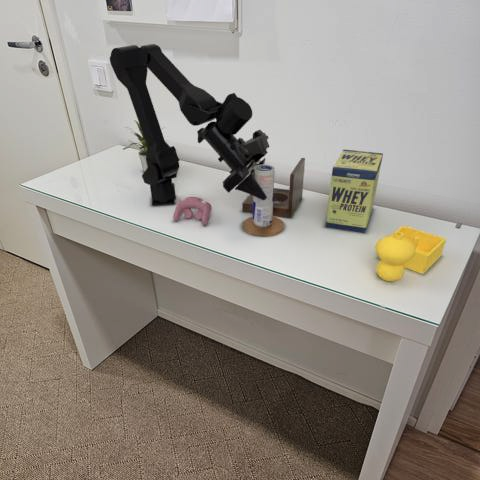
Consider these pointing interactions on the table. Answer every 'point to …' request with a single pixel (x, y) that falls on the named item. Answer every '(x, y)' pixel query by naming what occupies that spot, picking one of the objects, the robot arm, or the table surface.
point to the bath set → (407, 252)
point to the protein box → (353, 190)
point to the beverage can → (266, 182)
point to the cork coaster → (271, 230)
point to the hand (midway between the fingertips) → (268, 194)
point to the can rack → (274, 203)
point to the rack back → (296, 185)
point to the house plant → (142, 153)
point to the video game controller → (195, 203)
